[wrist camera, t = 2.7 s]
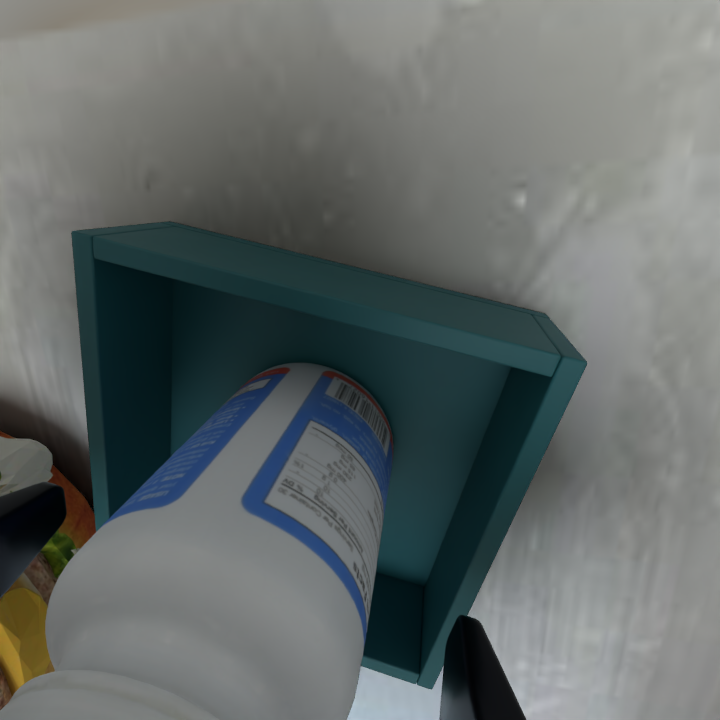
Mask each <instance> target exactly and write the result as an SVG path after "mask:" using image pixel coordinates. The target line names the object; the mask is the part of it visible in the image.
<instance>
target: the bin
mask: <svg viewBox="0 0 720 720" xmlns="http://www.w3.org/2000/svg"><path fill="white" fill-rule="evenodd" d="M71 234H72V246H73V258H74V270H75V283H76V295H77V307H78V319H79V331H80V344H81V356H82V368H83V380H84V392H85V405H86V417H87V429H88V441H89V454H90V466H91V478H92V490H93V502H94V515H95V527H96V532H97V531H98V530H99V528H100V527H101V526H102V525H103V524H104V523H105V522H106V521H107V520H108V519H109V518H110V517H111V516H112V515H113V514H114V513H115V512H116V511H117V510H118V509H119V508H120V507H121V506H122V505H123V504H124V503H125V502H126V501H127V500H128V499H129V498H130V497H131V496H132V495H133V494H134V493H135V492H136V491H137V490H138V489H139V488H140V487H141V486H142V485H143V484H144V483H145V482H146V481H147V480H148V479H149V478H150V477H151V476H152V475H153V474H154V473H155V472H156V471H157V470H158V469H159V468H160V467H161V466H162V465H163V464H164V463H165V462H166V461H167V460H168V459H169V458H170V457H171V456H172V455H173V454H174V453H175V451H176V450H178V449H179V448H180V447H181V446H182V445H183V444H184V443H185V442H186V441H187V440H188V439H189V438H190V437H191V436H192V435H193V434H194V433H195V432H196V431H197V430H198V429H199V428H200V427H201V426H202V425H203V424H204V423H205V422H206V421H207V420H208V419H209V418H211V417H212V415H213V414H214V413H215V412H217V411H218V410H219V409H220V408H221V407H222V406H223V405H224V404H225V403H226V402H227V401H228V400H229V399H230V398H231V397H232V396H233V395H234V394H235V393H236V392H237V391H238V390H239V389H240V388H241V387H242V386H243V385H244V384H246V383H247V382H248V381H249V380H250V379H252V378H253V377H254V376H256V375H257V374H259V373H261V372H263V371H265V370H267V369H269V368H272V367H274V366H278V365H282V364H288V363H312V364H318V365H322V366H326V367H329V368H332V369H335V370H337V371H339V372H342V373H343V374H345V375H347V376H349V377H350V378H352V379H353V380H355V381H356V382H358V383H359V384H360V385H362V386H363V387H364V388H365V389H366V390H367V391H368V392H369V393H370V394H371V395H372V396H373V397H374V398H375V399H376V401H377V402H378V404H379V405H380V406H381V408H382V410H383V411H384V413H385V415H386V417H387V420H388V422H389V425H390V428H391V432H392V437H393V462H392V470H391V476H390V482H389V488H388V494H387V500H386V507H385V513H384V520H383V527H382V533H381V540H380V546H379V553H378V559H377V568H376V574H375V580H374V587H373V593H372V600H371V607H370V614H369V619H368V625H367V633H366V640H365V645H364V651H363V657H362V662H361V666H363V667H366V668H369V669H372V670H375V671H378V672H381V673H384V674H387V675H389V676H392V677H395V678H398V679H401V680H404V681H407V682H410V683H413V684H416V682H417V685H419V686H422V687H425V688H428V689H432V688H433V686H434V684H435V682H436V680H437V678H438V676H439V674H440V672H441V669H442V667H443V665H444V657H445V647H446V642H447V639H448V636H449V634H450V632H451V630H452V628H453V625H454V623H455V621H456V619H457V617H458V616H459V615H465V616H467V615H468V613H469V611H470V609H471V607H472V604H473V602H474V600H475V598H476V596H477V594H478V592H479V590H480V588H481V586H482V583H483V581H484V579H485V577H486V575H487V573H488V571H489V569H490V567H491V565H492V563H493V560H494V558H495V556H496V554H497V552H498V550H499V548H500V546H501V544H502V542H503V539H504V537H505V535H506V533H507V531H508V529H509V527H510V525H511V523H512V521H513V519H514V516H515V514H516V512H517V510H518V508H519V506H520V504H521V502H522V500H523V498H524V495H525V493H526V491H527V489H528V487H529V485H530V483H531V481H532V479H533V477H534V475H535V472H536V470H537V468H538V466H539V464H540V462H541V460H542V458H543V456H544V454H545V451H546V449H547V447H548V445H549V443H550V441H551V439H552V437H553V435H554V433H555V430H556V428H557V426H558V424H559V422H560V420H561V418H562V416H563V414H564V412H565V410H566V407H567V405H568V403H569V401H570V399H571V397H572V395H573V393H574V391H575V389H576V386H577V384H578V382H579V380H580V378H581V376H582V374H583V372H584V370H585V368H586V366H587V361H586V360H585V359H584V358H583V357H582V356H581V354H580V353H579V352H578V351H577V350H576V349H575V347H574V346H573V345H572V344H571V343H570V342H569V340H568V339H567V338H566V337H565V336H564V335H563V333H562V332H561V331H560V330H559V329H558V328H557V327H556V325H555V324H554V323H553V322H552V321H551V320H550V318H549V317H548V316H547V315H546V314H544V313H540V312H536V311H532V310H528V309H524V308H520V307H516V306H512V305H508V304H504V303H500V302H496V301H492V300H487V299H483V298H479V297H475V296H471V295H467V294H463V293H459V292H455V291H451V290H447V289H443V288H439V287H435V286H431V285H426V284H422V283H418V282H414V281H410V280H406V279H402V278H398V277H394V276H390V275H386V274H382V273H378V272H374V271H370V270H366V269H361V268H357V267H353V266H349V265H345V264H341V263H337V262H333V261H329V260H325V259H321V258H317V257H313V256H309V255H305V254H300V253H296V252H292V251H288V250H284V249H280V248H276V247H272V246H268V245H264V244H260V243H256V242H252V241H248V240H244V239H240V238H235V237H231V236H227V235H223V234H219V233H215V232H211V231H207V230H203V229H199V228H195V227H191V226H187V225H183V224H179V223H174V222H170V221H169V222H160V223H148V224H138V225H128V226H118V227H108V228H98V229H88V230H77V231H72V233H71Z"/></svg>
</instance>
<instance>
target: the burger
mask: <svg viewBox="0 0 720 720" xmlns="http://www.w3.org/2000/svg"><path fill="white" fill-rule="evenodd" d="M41 482H50V483H53V484H56V485H59V486H61V487H62V488H63V489H64V492H65V501H66V509H67V515H66V518H65V520H64V522H63V524H62V525H61V526H60V528H59V529H58V530H57V531H56V533H55V534H54V535H53V536H52V537H51V539H50V540H49V541H48V542H47V544H46V545H45V546H44V547H43V549H42V550H41V551H40V552H39V553H38V555H37V556H36V557H35V558H34V560H33V561H32V562H31V563H30V564H29V566H28V567H27V568H26V569H25V571H24V572H23V573H22V574H21V575H20V577H19V578H18V579H17V580H16V581H15V583H14V584H13V585H12V586H11V587H10V588H9V589H8V591H7V592H6V593H5V594H4V595H3V596H2V597H1V598H0V710H1V709H2V708H3V707H4V706H5V705H7V704H8V703H9V701H10V699H11V698H12V696H13V695H14V693H15V692H16V691H17V690H18V689H19V688H20V687H21V686H22V685H23V684H25V683H26V682H28V681H29V680H31V679H33V678H35V677H38V676H40V675H44V674H47V673H50V672H54V671H55V669H54V667H53V664H52V662H51V659H50V656H49V652H48V649H47V642H46V634H45V621H46V614H47V608H48V604H49V599H50V596H51V594H52V591H53V589H54V586H55V584H56V582H57V580H58V578H59V576H60V574H61V573H62V571H63V570H64V568H65V567H66V565H67V564H68V562H69V561H70V560H71V559H72V558H73V556H74V555H75V554H76V553H77V552H78V551H79V550H80V549H81V548H82V547H83V546H84V544H85V543H86V542H87V541H88V540H89V539H90V538H91V537H92V536H93V535H94V534H95V533H96V527H95V515H94V513H93V511H92V509H91V508H90V506H89V504H88V502H87V501H86V499H85V497H84V496H83V495H82V494H81V493H80V492H79V491H78V490H77V489H76V488H75V487H74V486H73V485H72V484H71V483H70V482H69V481H68V480H67V479H66V477H65V476H64V475H63V474H62V473H61V472H60V471H59V470H58V469H57V468H56V467H55V466H54V465H53V461H52V453H51V452H50V451H49V450H48V448H47V447H46V446H44V445H43V444H41V443H39V442H37V441H34V440H31V439H16V438H14V437H12V436H10V435H8V434H6V433H3V432H1V431H0V496H3V495H6V494H9V493H11V492H14V491H17V490H20V489H23V488H26V487H29V486H32V485H34V484H37V483H41Z"/></svg>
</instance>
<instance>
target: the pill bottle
mask: <svg viewBox="0 0 720 720" xmlns="http://www.w3.org/2000/svg"><path fill="white" fill-rule="evenodd" d="M392 462H393V437H392V432H391V428H390V425H389V422H388V420H387V417H386V415H385V413H384V411H383V410H382V408H381V406H380V405H379V404H378V402H377V401H376V399H375V398H374V397H373V396H372V395H371V394H370V393H369V392H368V391H367V390H366V389H365V388H364V387H363V386H362V385H360V384H359V383H358V382H356V381H355V380H353V379H352V378H350V377H349V376H347V375H345V374H343V373H342V372H339V371H337V370H335V369H332V368H329V367H326V366H322V365H318V364H312V363H288V364H282V365H278V366H274V367H272V368H269V369H267V370H265V371H263V372H261V373H259V374H257V375H256V376H254V377H253V378H252V379H250V380H249V381H248V382H247V383H246V384H244V385H243V386H242V387H241V388H240V389H239V390H238V391H237V392H236V393H235V394H234V395H233V396H232V397H231V398H230V399H229V400H228V401H227V402H226V403H225V404H224V405H223V406H222V407H221V408H220V409H219V410H218V411H217V412H215V413H214V414H213V415H212V417H211V418H209V419H208V420H207V421H206V422H205V423H204V424H203V425H202V426H201V427H200V428H199V429H198V430H197V431H196V432H195V433H194V434H193V435H192V436H191V437H190V438H189V439H188V440H187V441H186V442H185V443H184V444H183V445H182V446H181V447H180V448H179V449H178V450H176V451H175V453H174V454H173V455H172V456H171V457H170V458H169V459H168V460H167V461H166V462H165V463H164V464H163V465H162V466H161V467H160V468H159V469H158V470H157V471H156V472H155V473H154V474H153V475H152V476H151V477H150V478H149V479H148V480H147V481H146V482H145V483H144V484H143V485H142V486H141V487H140V488H139V489H138V490H137V491H136V492H135V493H134V494H133V495H132V496H131V497H130V498H129V499H128V500H127V501H126V502H125V503H124V504H123V505H122V506H121V507H120V508H119V509H118V510H117V511H116V512H115V513H114V514H113V515H112V516H111V517H110V518H109V519H108V520H107V521H106V522H105V523H104V524H103V525H102V526H101V527H100V528H99V530H98V531H97V532H96V533H95V534H94V535H93V536H92V537H91V538H90V539H89V540H88V541H87V542H86V543H85V544H84V546H83V547H82V548H81V549H80V550H79V551H78V552H77V553H76V554H75V555H74V556H73V558H72V559H71V560H70V561H69V562H68V564H67V565H66V567H65V568H64V570H63V571H62V573H61V574H60V576H59V578H58V580H57V582H56V584H55V586H54V589H53V591H52V594H51V596H50V599H49V604H48V608H47V614H46V621H45V634H46V642H47V649H48V652H49V656H50V659H51V662H52V664H53V667H54V669H55V671H54V672H50V673H47V674H44V675H40V676H38V677H35V678H33V679H31V680H29V681H28V682H26V683H25V684H23V685H22V686H21V687H20V688H19V689H18V690H17V691H16V692H15V693H14V695H13V696H12V698H11V699H10V701H9V703H8V704H7V705H5V706H4V707H3V708H2V709H1V710H0V720H347V717H348V715H349V713H350V710H351V707H352V704H353V701H354V698H355V693H356V688H357V684H358V678H359V672H360V667H361V662H362V657H363V651H364V645H365V640H366V633H367V625H368V619H369V614H370V607H371V600H372V593H373V587H374V580H375V574H376V568H377V559H378V553H379V546H380V540H381V533H382V527H383V520H384V513H385V507H386V500H387V494H388V488H389V482H390V476H391V470H392Z"/></svg>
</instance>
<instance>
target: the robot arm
mask: <svg viewBox="0 0 720 720" xmlns="http://www.w3.org/2000/svg"><path fill="white" fill-rule="evenodd" d="M66 515H67V509H66V501H65V492H64V489H63V488H62V487H61V486H59V485H56V484H53V483H50V482H41V483H37V484H34V485H32V486H29V487H26V488H23V489H20V490H17V491H14V492H11V493H9V494H6V495H3V496H0V598H1V597H2V596H3V595H4V594H5V593H6V592H7V591H8V589H9V588H10V587H11V586H12V585H13V584H14V583H15V581H16V580H17V579H18V578H19V577H20V575H21V574H22V573H23V572H24V571H25V569H26V568H27V567H28V566H29V564H30V563H31V562H32V561H33V560H34V558H35V557H36V556H37V555H38V553H39V552H40V551H41V550H42V549H43V547H44V546H45V545H46V544H47V542H48V541H49V540H50V539H51V537H52V536H53V535H54V534H55V533H56V531H57V530H58V529H59V528H60V526H61V525H62V524H63V522H64V520H65V518H66ZM440 720H526V718H525V716H524V714H523V711H522V709H521V707H520V705H519V703H518V701H517V699H516V697H515V694H514V692H513V690H512V688H511V686H510V684H509V682H508V680H507V677H506V675H505V673H504V671H503V669H502V667H501V665H500V662H499V660H498V658H497V656H496V654H495V652H494V650H493V648H492V645H491V643H490V641H489V639H488V637H487V635H486V633H485V631H484V628H483V626H482V624H481V623H480V622H479V621H478V620H477V619H475V618H471V617H468V616H465V615H459V616H458V617H457V619H456V621H455V623H454V625H453V628H452V630H451V632H450V634H449V636H448V639H447V642H446V647H445V657H444V669H443V682H442V695H441V707H440Z"/></svg>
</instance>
